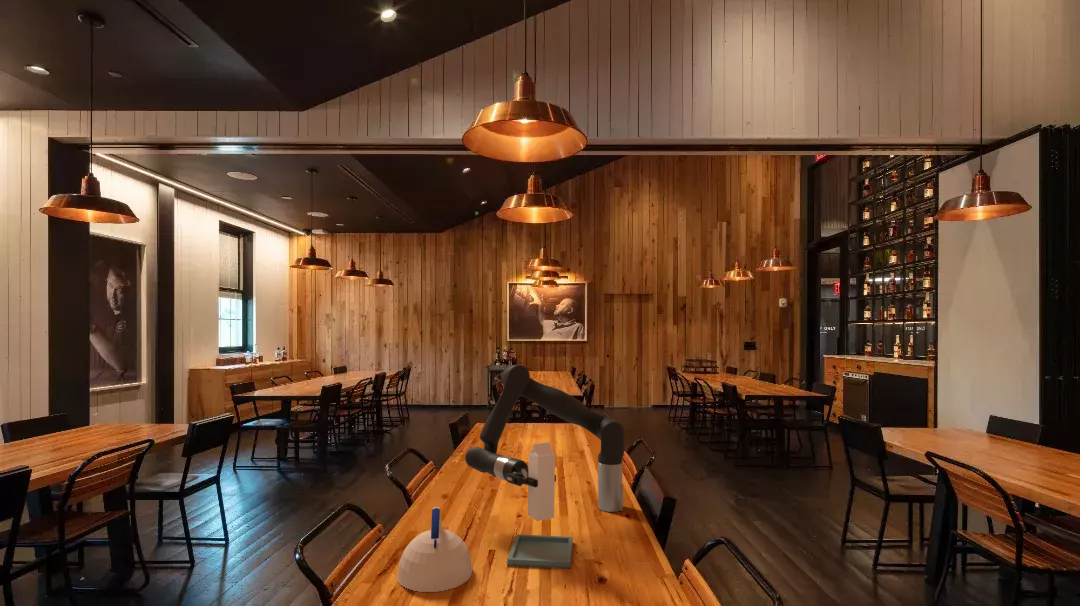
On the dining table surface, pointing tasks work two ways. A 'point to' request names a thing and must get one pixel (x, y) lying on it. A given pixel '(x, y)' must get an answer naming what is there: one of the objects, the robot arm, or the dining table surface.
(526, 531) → the dining table surface
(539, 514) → the milk
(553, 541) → the tray
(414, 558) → the dome with blue handle
